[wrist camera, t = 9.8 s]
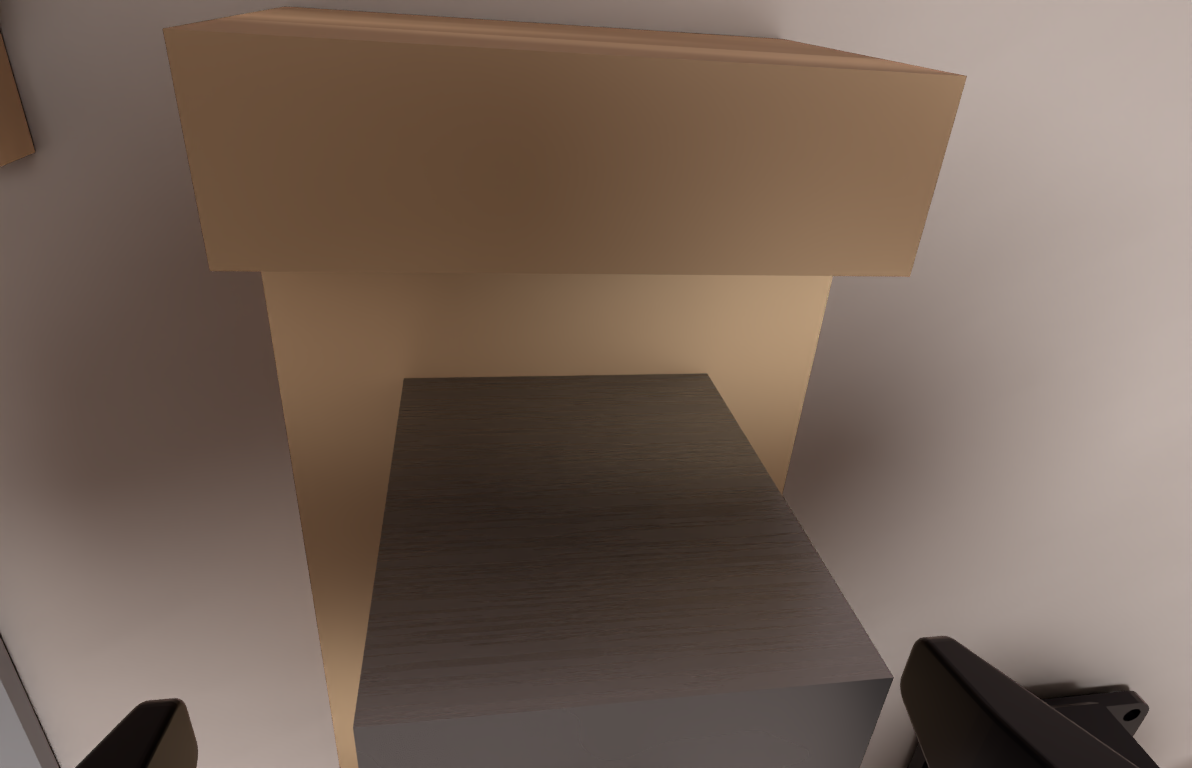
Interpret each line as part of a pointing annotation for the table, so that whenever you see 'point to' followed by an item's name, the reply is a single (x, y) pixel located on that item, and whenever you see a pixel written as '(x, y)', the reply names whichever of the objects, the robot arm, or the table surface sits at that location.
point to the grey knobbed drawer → (600, 589)
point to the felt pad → (19, 724)
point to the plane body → (533, 225)
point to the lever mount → (11, 116)
